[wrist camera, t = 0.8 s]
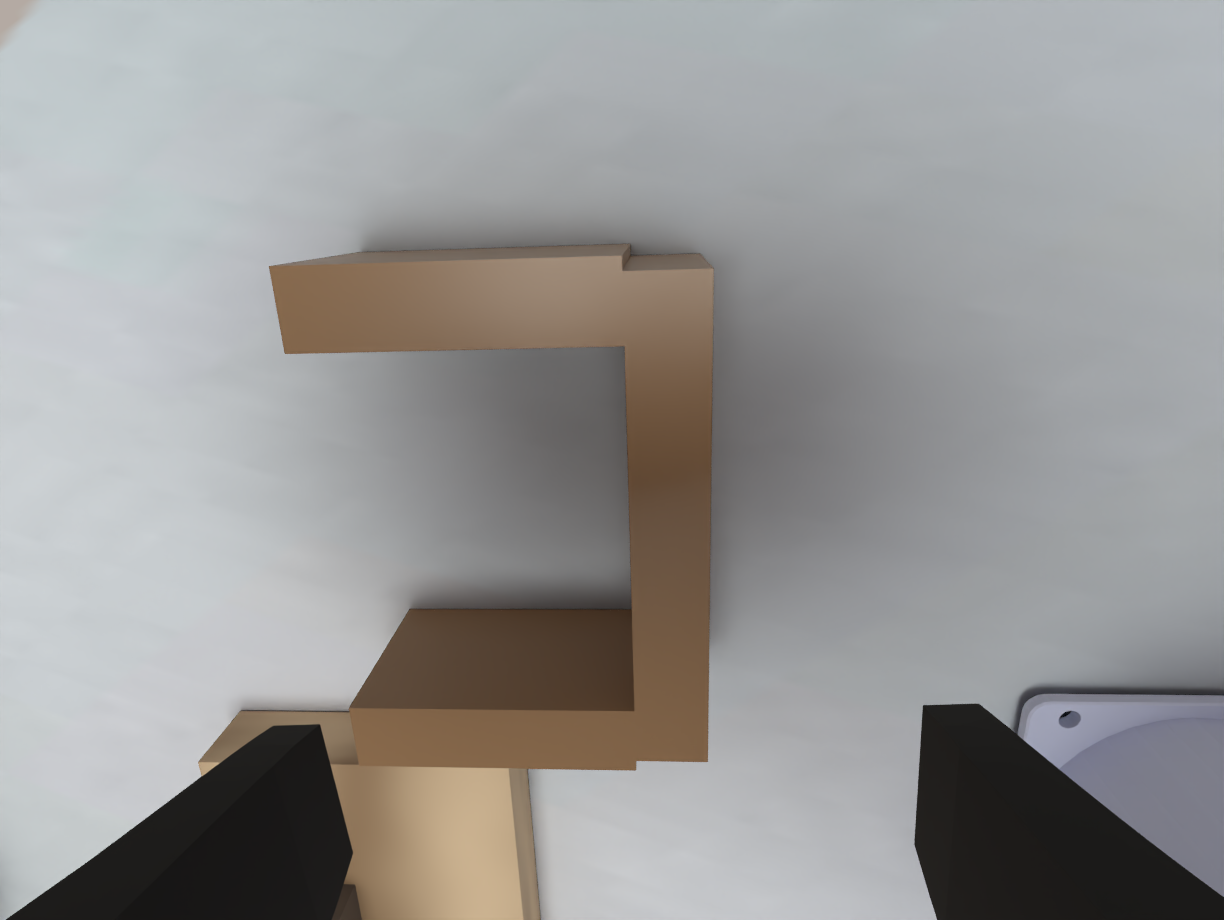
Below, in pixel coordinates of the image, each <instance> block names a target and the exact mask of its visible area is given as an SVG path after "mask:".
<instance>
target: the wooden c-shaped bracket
mask: <svg viewBox="0 0 1224 920" xmlns="http://www.w3.org/2000/svg"><path fill="white" fill-rule="evenodd" d="M269 269H270V275H271V280H272V286H273V291H274V297H275V302H276V308H277V313H278V319H279V324H280V330H281V335H282V341H283V347H284V352H285V354H302V353H347V352H392V351H437V350H482V349H528V348H573V347H618V346H625V382H626V419H627V455H628V492H629V529H630V565H631V602H632V609H409V611H408V613H407V614H406V616H405V618H404V619H403V621H402V622H401V624H400V626H399V627H398V629H397V631H396V632H395V634H394V635H393V637H392V639H391V640H390V642H389V644H388V645H387V647H386V648H385V650H384V652H383V653H382V655H381V657H380V658H379V660H378V661H377V663H376V665H375V666H374V668H373V670H372V671H371V673H370V675H369V676H368V678H367V679H366V681H365V683H364V684H363V686H362V688H361V689H360V691H359V692H358V694H357V696H356V697H355V699H354V701H353V702H352V704H351V705H350V707H349V712H350V718H351V723H352V729H353V734H354V740H355V745H356V751H357V757H358V762H359V766H392V767H454V768H516V769H579V770H636V761H679V762H708V696H709V615H710V533H711V452H712V371H713V290H714V268H713V267H712V266H711V265H710V264H709V263H708V262H707V260H706V259H705V258H704V257H703V256H702V255H701V254H668V255H635V256H631V246H630V244H603V245H571V246H539V247H507V248H475V249H444V250H412V251H380V252H357V253H351V254H344V255H338V256H331V257H325V258H319V259H312V260H306V261H299V262H293V263H286V264H280V265H274V266H269Z"/></svg>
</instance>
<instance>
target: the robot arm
mask: <svg viewBox="0 0 1224 920" xmlns="http://www.w3.org/2000/svg"><path fill="white" fill-rule="evenodd" d="M1067 711H1071V713H1070V714H1069V715H1067V716H1066V717H1062V718H1060V716H1061V715H1062V714H1063V713H1065V712H1067ZM915 848H916V851H917V855H918V858H919V861H920V865H921V868H922V871H923V875H924V878H925V881H926V885H927V888H928V892H929V895H930V898H931V901H932V904H933V908H934V911H935V914H936V917H937V920H1224V695H1116V694H1041V695H1036V696H1034V697H1032V698H1030V699H1029V700H1028V701H1027V702H1026V703H1025V704H1024V706H1023V709H1022V712H1021V718H1020V723H1019V729H1018V734H1016V733H1014V732H1013V731H1012V730H1011V729H1010V728H1008V727H1007V726H1006V725H1005V724H1003V723H1002V722H1001V721H1000V720H998V719H997V718H996V717H995V716H993V715H992V714H991V713H990V712H988V711H987V710H986V709H985V708H983V707H982V706H981V705H979V704H952V705H923V714H922V731H921V747H920V763H919V779H918V795H917V811H916V828H915ZM352 855H353V850H352V846H351V842H350V838H349V834H348V831H347V827H346V823H345V819H344V815H343V811H342V807H341V803H340V800H339V796H338V792H337V788H336V784H335V780H334V776H333V772H332V769H331V765H330V761H329V757H328V753H327V749H326V745H325V741H324V738H323V734H322V730H321V726H320V724H310V725H277V726H272V727H270V728H269V729H267V730H266V731H264V732H263V733H261V734H260V735H258V736H257V737H255V738H254V739H252V740H251V741H249V742H248V743H247V744H245V745H244V746H242V747H241V748H240V749H238V750H237V751H236V752H234V753H233V754H231V755H230V756H229V757H227V758H226V759H225V760H223V761H222V762H221V763H219V764H218V765H217V766H215V767H214V768H212V769H211V770H210V771H208V772H207V773H206V774H204V775H203V776H202V777H201V778H199V779H198V780H197V781H195V782H194V783H193V784H191V785H190V786H189V787H187V788H186V789H185V790H183V791H182V792H181V793H179V794H178V795H177V796H175V797H174V798H173V799H171V800H170V801H169V802H167V803H166V804H165V805H163V806H162V807H161V808H159V809H158V810H157V811H155V812H154V813H153V814H151V815H150V816H149V817H147V818H146V819H145V820H143V821H142V822H141V823H139V824H138V825H137V826H135V827H134V828H133V829H131V830H130V831H129V832H127V833H126V834H125V835H123V836H122V837H121V838H119V839H118V840H117V841H115V842H114V843H113V844H111V845H110V846H108V847H107V848H106V849H104V850H103V851H102V852H100V853H99V854H98V855H96V856H95V857H94V858H92V859H91V860H90V861H88V862H87V863H85V864H84V865H83V866H81V867H80V868H78V869H77V870H76V871H74V872H73V873H71V874H70V875H68V876H67V877H66V878H64V879H63V880H61V881H60V882H59V883H57V884H56V885H54V886H53V887H51V888H50V889H49V890H47V891H46V892H44V893H43V894H42V895H40V896H39V897H37V898H36V899H34V900H33V901H32V902H30V903H29V904H27V905H26V906H25V907H23V908H22V909H20V910H19V911H17V912H16V913H15V914H13V915H12V916H10V917H9V918H8V919H6V920H332V918H333V915H334V912H335V909H336V906H337V903H338V900H339V897H340V894H341V891H342V888H343V884H344V881H345V878H346V875H347V871H348V868H349V865H350V862H351V859H352Z"/></svg>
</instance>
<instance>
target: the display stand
mask: <svg viewBox="0 0 1224 920" xmlns="http://www.w3.org/2000/svg"><path fill="white" fill-rule="evenodd" d="M310 724H320V726H321V730H322V734H323V738H324V741H325V745H326V749H327V753H328V757H329V761H330V765H331V769H332V772H333V776H334V780H335V784H336V788H337V792H338V796H339V800H340V803H341V807H342V811H343V815H344V819H345V823H346V827H347V831H348V834H349V838H350V842H351V846H352V850H353V855H352V859H351V862H350V865H349V868H348V871H347V875H346V878H345V881H344V884H343V888H342V891H341V894H340V897H339V900H338V903H337V906H336V909H335V912H334V915H333V918H332V920H541V919H540V908H539V897H538V885H537V874H536V862H535V851H534V839H533V828H532V817H531V805H530V794H529V782H528V771H527V769H516V768H454V767H392V766H359V762H358V757H357V751H356V745H355V740H354V734H353V729H352V723H351V718H350V712H283V711H240V712H239V713H238V714H237V716H236V717H235V718H234V719H233V720H232V722H231V723H230V724H229V725H228V727H227V728H226V729H225V730H224V731H223V733H222V734H221V735H220V736H219V737H218V739H217V740H216V741H215V742H214V743H213V745H212V746H211V747H210V748H209V750H208V751H207V752H206V753H205V754H204V756H203V757H202V758H201V759H200V760H199V762H198V764H199V768H200V771H201V775H202V776H203V775H204V774H206V773H207V772H208V771H210V770H211V769H212V768H214V767H215V766H217V765H218V764H219V763H221V762H222V761H223V760H225V759H226V758H227V757H229V756H230V755H231V754H233V753H234V752H236V751H237V750H238V749H240V748H241V747H242V746H244V745H245V744H247V743H248V742H249V741H251V740H252V739H254V738H255V737H257V736H258V735H260V734H261V733H263V732H264V731H266V730H267V729H269V728H270V727H272V726H277V725H310Z"/></svg>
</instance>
